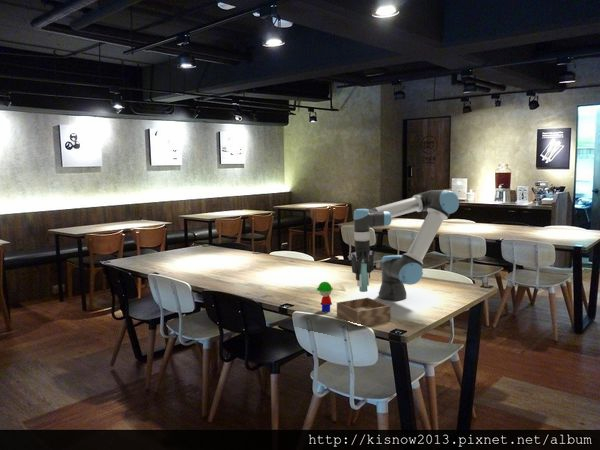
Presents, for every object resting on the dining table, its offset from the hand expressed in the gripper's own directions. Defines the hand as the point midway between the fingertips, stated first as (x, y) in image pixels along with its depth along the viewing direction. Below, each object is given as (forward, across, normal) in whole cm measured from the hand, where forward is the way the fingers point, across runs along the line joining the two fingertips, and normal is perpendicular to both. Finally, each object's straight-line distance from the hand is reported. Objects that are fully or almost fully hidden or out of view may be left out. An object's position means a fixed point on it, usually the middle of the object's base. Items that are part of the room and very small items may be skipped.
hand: (363, 285), depth 249 cm
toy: (+11, +20, -5) cm, 23 cm away
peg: (+3, 0, 0) cm, 3 cm away
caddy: (+11, +11, +15) cm, 22 cm away
